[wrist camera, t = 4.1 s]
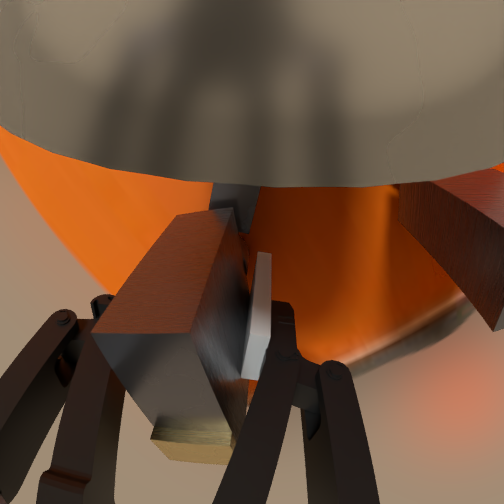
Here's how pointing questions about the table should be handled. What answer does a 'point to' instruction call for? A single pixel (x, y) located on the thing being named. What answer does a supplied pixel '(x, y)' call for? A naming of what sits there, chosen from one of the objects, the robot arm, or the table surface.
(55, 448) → the robot arm
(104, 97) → the stand
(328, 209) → the table surface
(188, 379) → the tan-tipped grey block
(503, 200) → the grey rectangular block
